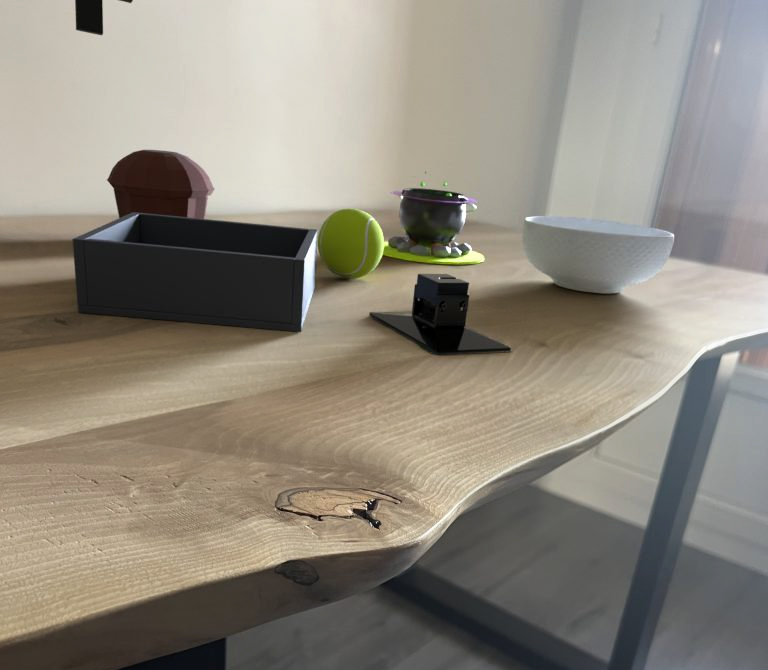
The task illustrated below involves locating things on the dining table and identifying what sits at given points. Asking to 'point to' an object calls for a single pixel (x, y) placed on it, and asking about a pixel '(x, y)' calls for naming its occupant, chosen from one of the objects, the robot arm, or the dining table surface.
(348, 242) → the tennis ball
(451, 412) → the dining table surface
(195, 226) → the bin
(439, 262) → the toy cauldron
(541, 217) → the cereal bowl
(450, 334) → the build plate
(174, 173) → the muffin
